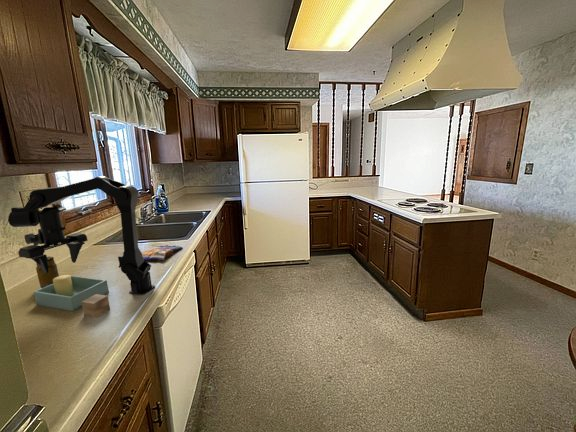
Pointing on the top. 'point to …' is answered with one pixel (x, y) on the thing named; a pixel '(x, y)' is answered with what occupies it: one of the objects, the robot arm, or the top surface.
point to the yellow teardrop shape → (63, 285)
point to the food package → (160, 253)
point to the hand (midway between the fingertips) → (60, 267)
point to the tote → (71, 303)
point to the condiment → (47, 278)
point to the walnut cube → (95, 305)
